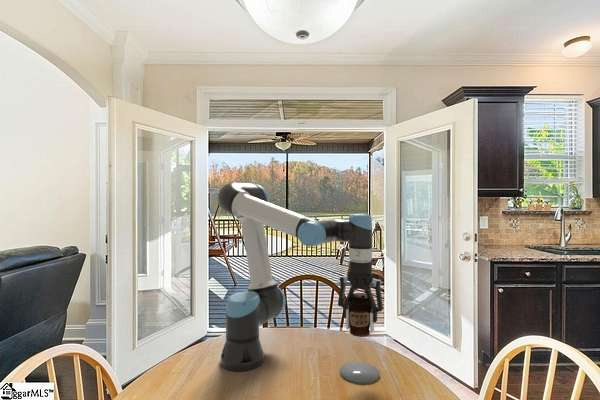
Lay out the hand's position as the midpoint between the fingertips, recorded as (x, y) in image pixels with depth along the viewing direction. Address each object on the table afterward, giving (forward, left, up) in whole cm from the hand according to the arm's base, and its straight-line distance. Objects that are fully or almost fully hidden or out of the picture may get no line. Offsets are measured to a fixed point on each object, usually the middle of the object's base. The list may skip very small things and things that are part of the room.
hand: (360, 329), depth 116 cm
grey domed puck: (0, 0, -15) cm, 15 cm away
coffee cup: (0, 0, -2) cm, 2 cm away
